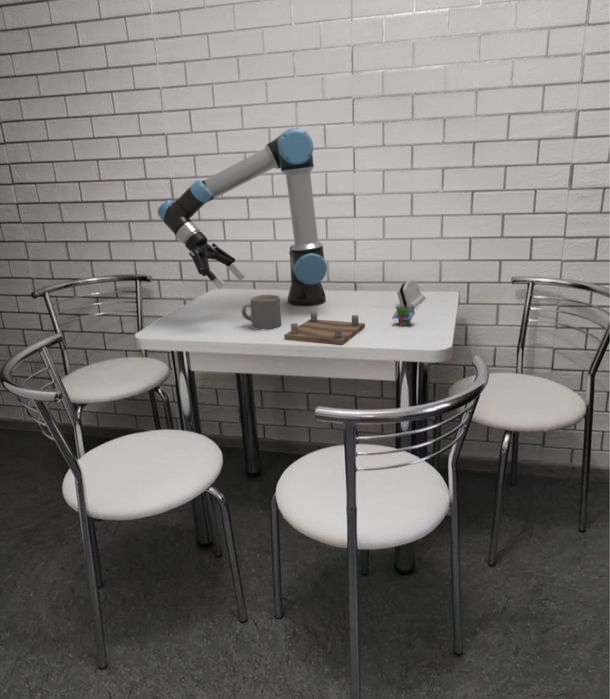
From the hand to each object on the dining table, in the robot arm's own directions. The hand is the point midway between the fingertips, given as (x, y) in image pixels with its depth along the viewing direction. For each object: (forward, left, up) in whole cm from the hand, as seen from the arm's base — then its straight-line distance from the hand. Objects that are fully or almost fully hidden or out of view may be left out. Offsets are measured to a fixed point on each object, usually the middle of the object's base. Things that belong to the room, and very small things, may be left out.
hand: (232, 282), depth 210 cm
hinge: (-64, +19, -15) cm, 69 cm away
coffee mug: (-6, +9, -15) cm, 18 cm away
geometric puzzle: (-44, +39, -15) cm, 61 cm away
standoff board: (-18, +31, -15) cm, 39 cm away
